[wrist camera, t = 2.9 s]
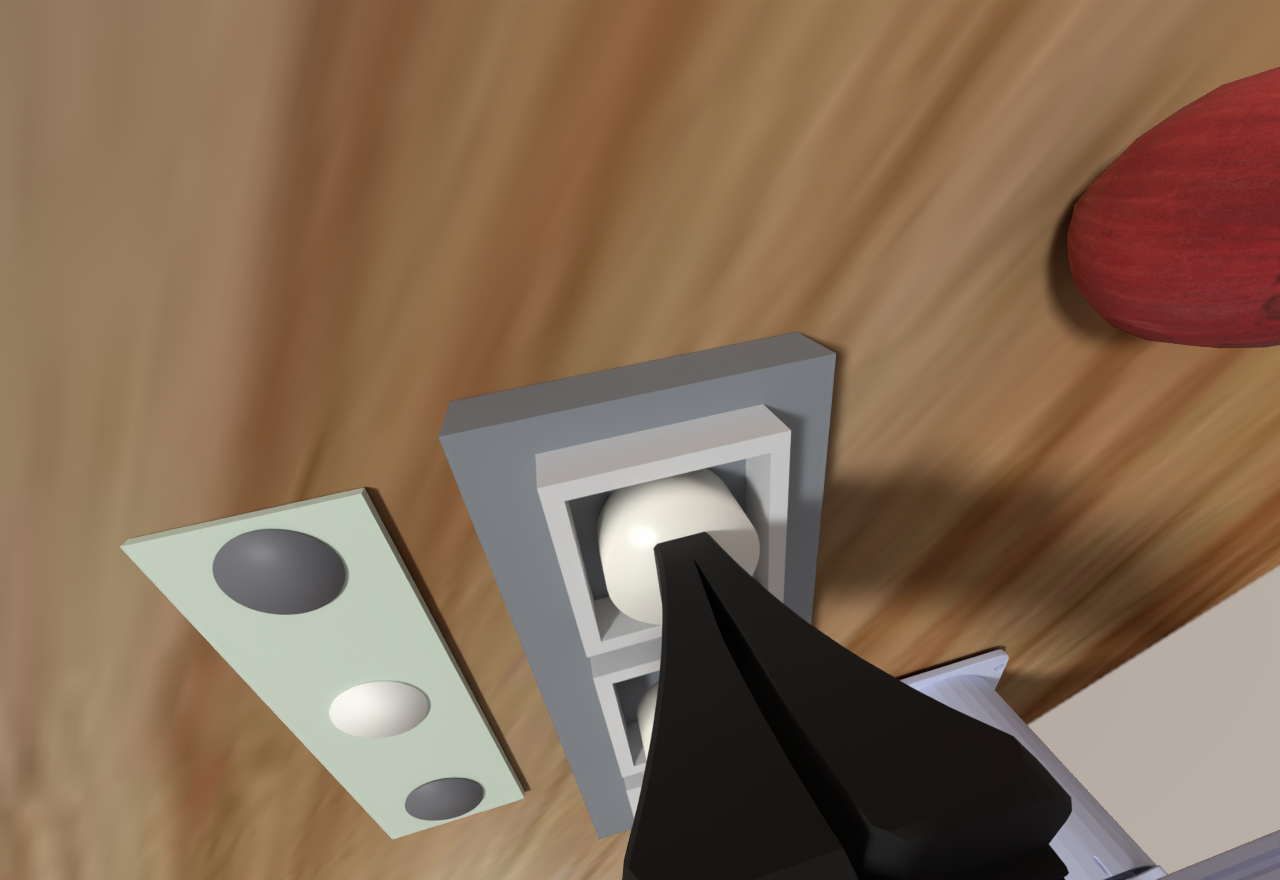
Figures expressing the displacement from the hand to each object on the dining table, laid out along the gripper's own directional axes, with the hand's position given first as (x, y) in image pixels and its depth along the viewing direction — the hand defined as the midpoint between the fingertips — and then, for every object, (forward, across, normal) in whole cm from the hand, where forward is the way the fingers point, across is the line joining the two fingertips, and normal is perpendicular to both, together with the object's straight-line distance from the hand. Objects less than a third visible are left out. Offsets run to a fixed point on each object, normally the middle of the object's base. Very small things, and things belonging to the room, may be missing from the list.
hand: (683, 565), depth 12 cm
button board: (+4, 0, +7) cm, 8 cm away
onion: (+4, -14, -6) cm, 16 cm away
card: (+4, +11, +7) cm, 14 cm away
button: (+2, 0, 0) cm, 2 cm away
